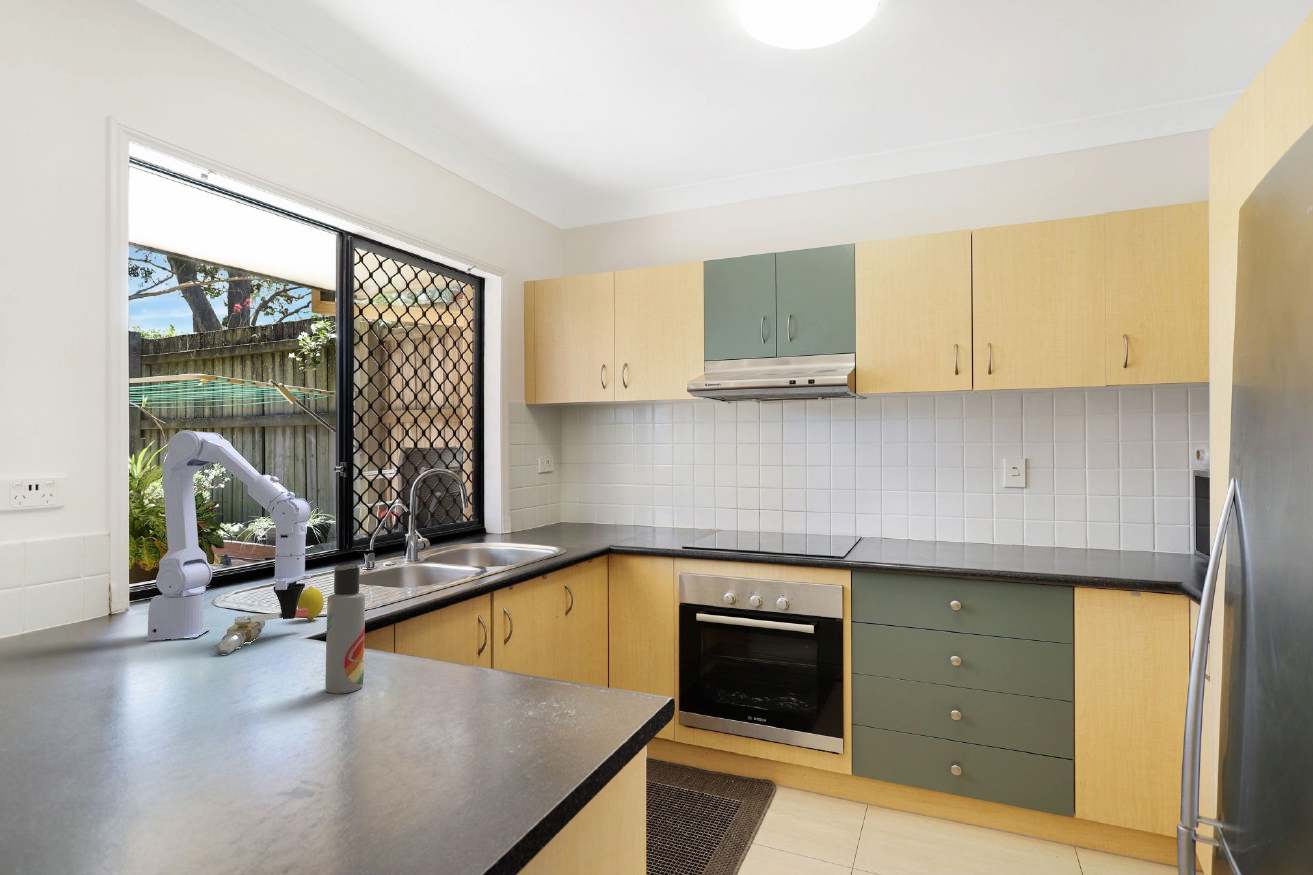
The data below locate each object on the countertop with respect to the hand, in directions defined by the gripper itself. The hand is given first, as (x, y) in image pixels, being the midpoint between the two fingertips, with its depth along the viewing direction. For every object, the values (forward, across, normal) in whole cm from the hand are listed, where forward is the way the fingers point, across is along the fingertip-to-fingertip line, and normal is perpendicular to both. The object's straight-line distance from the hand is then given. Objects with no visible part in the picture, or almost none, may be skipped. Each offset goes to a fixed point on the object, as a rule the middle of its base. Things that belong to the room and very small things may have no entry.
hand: (288, 618), depth 150 cm
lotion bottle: (+4, -42, -18) cm, 46 cm away
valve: (+4, -3, +8) cm, 9 cm away
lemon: (+4, +16, -1) cm, 16 cm away
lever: (0, 0, +3) cm, 3 cm away
